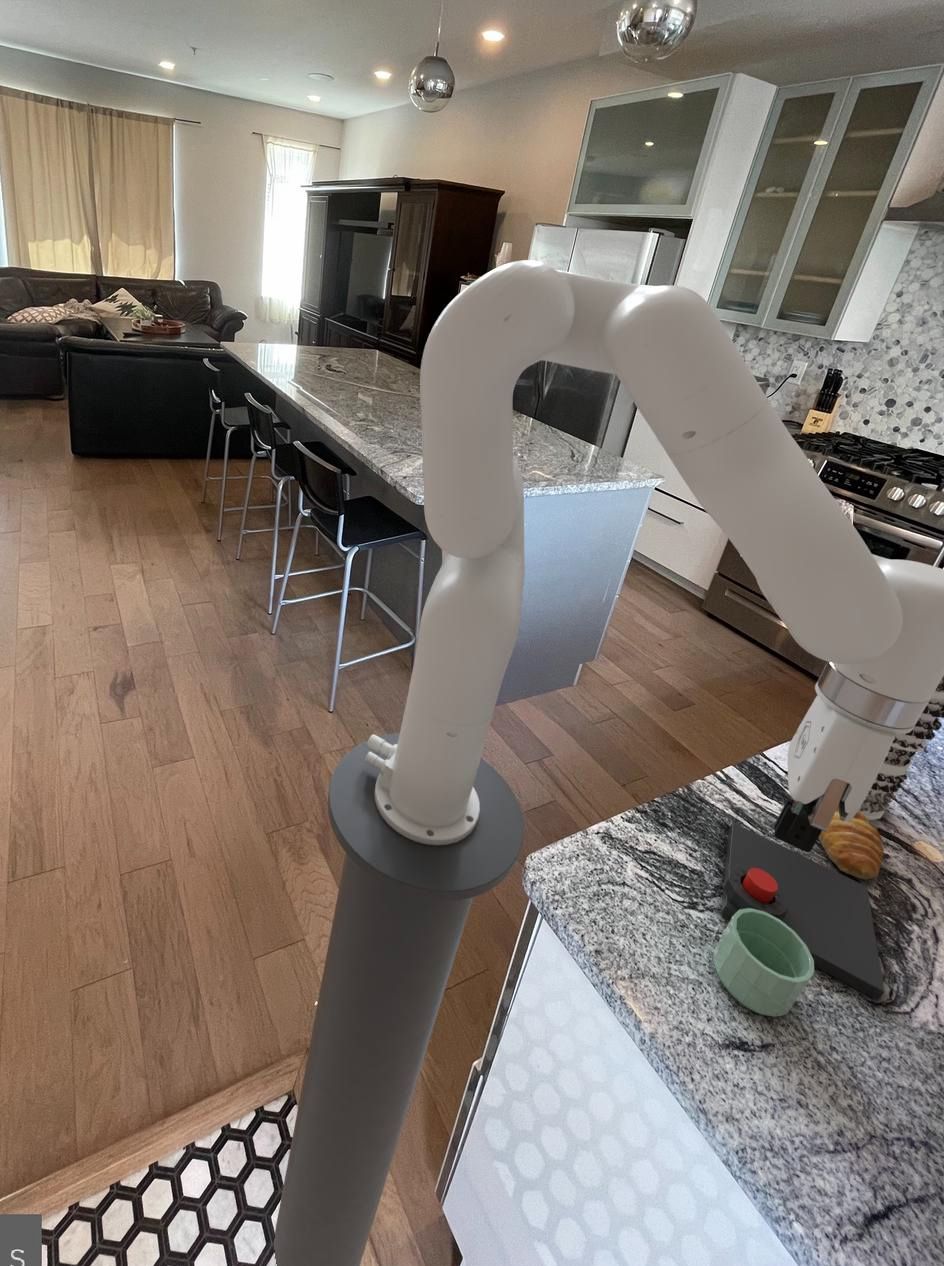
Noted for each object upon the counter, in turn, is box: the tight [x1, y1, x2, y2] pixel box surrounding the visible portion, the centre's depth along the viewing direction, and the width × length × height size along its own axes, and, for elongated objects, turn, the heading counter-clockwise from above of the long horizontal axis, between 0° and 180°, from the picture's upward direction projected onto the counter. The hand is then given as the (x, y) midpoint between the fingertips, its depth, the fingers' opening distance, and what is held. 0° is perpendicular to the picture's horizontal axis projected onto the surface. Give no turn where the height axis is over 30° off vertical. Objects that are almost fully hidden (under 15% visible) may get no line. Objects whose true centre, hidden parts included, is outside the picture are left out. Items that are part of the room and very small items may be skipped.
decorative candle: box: [858, 676, 944, 821], centre depth 82 cm, size 9×9×25 cm
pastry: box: [818, 807, 884, 881], centre depth 77 cm, size 9×7×4 cm
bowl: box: [712, 908, 815, 1018], centre depth 59 cm, size 7×7×6 cm
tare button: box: [743, 868, 778, 903], centre depth 67 cm, size 3×3×2 cm
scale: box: [720, 822, 885, 1001], centre depth 69 cm, size 14×14×3 cm
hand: (791, 839), depth 64 cm, fingers closed
